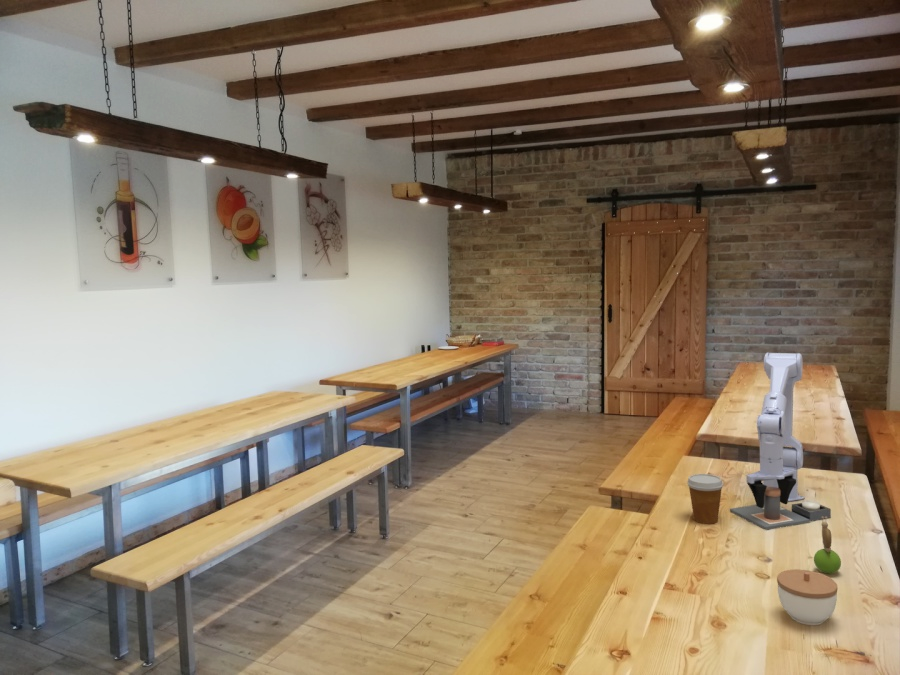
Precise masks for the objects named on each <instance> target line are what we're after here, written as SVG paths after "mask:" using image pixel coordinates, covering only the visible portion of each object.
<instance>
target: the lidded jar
mask: <svg viewBox="0 0 900 675" xmlns="http://www.w3.org/2000/svg"><path fill="white" fill-rule="evenodd" d="M776 582H777V594H778V598H779V601H780V604H781V607H782V608H783V609H784V611H785V612H786V613H787V614H788V615H789V617H790V619H792V620H793V621H795V622H797V623H799V624H802V625H806V626H820V625H822V624H823V623H824V622H825V621H826V620H828V619H829V618H830V617H832V615H833V614H834V612H835V610H836V609H835V608H836V605H837V598H838V594H837V593H838V583H837V582H836V581H835V580H834V579H833V578H831V577H829V576H828V575H825V574H823V573H821V572H817V571H814V570H813V571H812V570H809V569H788V570H784V571H781V572H780V573H778V575H777V577H776Z"/></svg>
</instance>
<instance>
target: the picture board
mask: <svg viewBox="0 0 900 675" xmlns="http://www.w3.org/2000/svg"><path fill="white" fill-rule="evenodd" d="M729 512H730V513H732V514H734V515H736V516H738V517H740V518H742V519H744V520H745V519H746V520H745V521H747V522H749V523H752V524H753V525H755V526H757V527H758V528H759V527H760V528H762V529H763V530H765V531H769V530H774V529H780V527H781V528H786V526H787V527H792V525H793V526H798V525H803V524H809V523H811V521H810V520H809V519H807V518H805V517H803V516H800V515H798V514H796V513H794V512H792V510H789V509H787V508H785V507H783V506H780V519H778V520H770V519H766V518H765V517H764V507H763V508H760V507H758V506H756V504H752V505H746V506H745V505H744V506H738V507H733V508H729Z"/></svg>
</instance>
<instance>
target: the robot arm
mask: <svg viewBox="0 0 900 675" xmlns="http://www.w3.org/2000/svg"><path fill="white" fill-rule="evenodd" d="M803 362H804V361H803V355H802V354H801V353H799V352H797V353H791V352H789V353H785V352H783V353H782V352H780V353H779V352H778V353H777V352H766V353H765V355H764V358H763V369H764V372H765V374H766V376H767V377H768V379H769V380H770V381H769V382H770V383H769V392H768V393H766V394H765V395H764V396H763V402H762V407H761V408H762V409H761V412H760V413H761V414H759V415H757V419H756V430H757V435H758V436H757V438H758V439H757V440H758V441H759V470H758V471H756V472H753V473H750V474H746V475H745V476H746V484H747V486H748V487H749V489H750V491H751V493H752V496H753V498H754V502H755V505H756V506H758V507H760V508H763V507H764V495H765V491H766V488H767V487H776V488H779V489H780V504H783V505H787V504H788V502H792V501H800V500H804V499H805V497H804V496H802V495H800V494H798V493H799V492H798V489H799V488H798V482H799V481H798V471H799V470H801V469H802V468H803V464H804V452H803V444H802V442H801V441H800V440H799V439H797V438H796V437H794V436H793V428H794V427H793V426H794V425H793V424H794V423H793V422H794V421H793V420H794V419H793V418H794V417H793V416H794V387H795V384H796V383H797V382H799V381H801V380H802V377H803V365H804V364H803Z"/></svg>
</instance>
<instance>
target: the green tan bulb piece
mask: <svg viewBox="0 0 900 675" xmlns="http://www.w3.org/2000/svg"><path fill="white" fill-rule="evenodd" d="M821 518H822V520H827V517H825V519H824V517H823V516H822V517H821ZM828 526H829V524H828V522H827V521H822V523H821V537H822V545H823V548H821V549H819V550H817V551H816V552H815V554H814V556H813V562H814V564H815V567H816V568H817V569H818V570H819V571H821V572H822V573H825V574H835V573H836V572H838V571H839V570H840V569H841V565H842V560H841V557H840V556H839V554H838V553H837V552H836V551H834V550H833V549H831V547H832V533H831V532H832V531H831V530H830V529H829V528H828Z"/></svg>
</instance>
